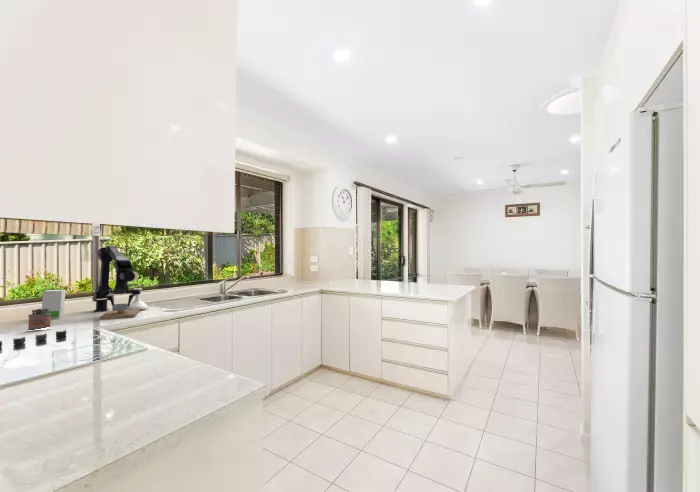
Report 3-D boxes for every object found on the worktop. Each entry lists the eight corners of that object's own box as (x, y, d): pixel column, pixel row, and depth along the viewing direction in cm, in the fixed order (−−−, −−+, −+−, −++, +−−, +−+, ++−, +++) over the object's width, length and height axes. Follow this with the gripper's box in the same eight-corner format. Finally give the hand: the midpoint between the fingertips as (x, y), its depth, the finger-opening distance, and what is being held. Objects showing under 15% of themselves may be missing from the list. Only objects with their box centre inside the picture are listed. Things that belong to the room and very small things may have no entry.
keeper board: (107, 313, 191) (108, 303, 191) (139, 311, 198) (139, 302, 199) (99, 319, 173) (99, 308, 174) (134, 317, 181) (134, 306, 181)
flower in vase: (147, 307, 213) (148, 270, 214) (147, 310, 204) (148, 271, 205) (123, 309, 206) (125, 271, 207) (122, 312, 197) (124, 272, 198)
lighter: (26, 331, 146) (26, 309, 146) (29, 330, 149) (30, 308, 149) (48, 330, 149) (49, 308, 149) (52, 328, 152) (52, 307, 152)
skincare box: (40, 319, 172) (41, 291, 172) (45, 317, 178) (46, 289, 178) (60, 318, 176) (61, 290, 176) (64, 316, 182) (65, 289, 182)
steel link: (114, 309, 187) (114, 304, 188) (129, 308, 191) (129, 303, 191) (112, 311, 181) (112, 305, 181) (127, 310, 184) (127, 305, 184)
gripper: (98, 281, 175) (97, 310, 175) (138, 281, 184) (137, 308, 183) (103, 280, 185) (102, 307, 185) (141, 279, 194) (140, 305, 193)
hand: (120, 306), depth 186 cm, fingers closed on steel link, 7 cm apart
